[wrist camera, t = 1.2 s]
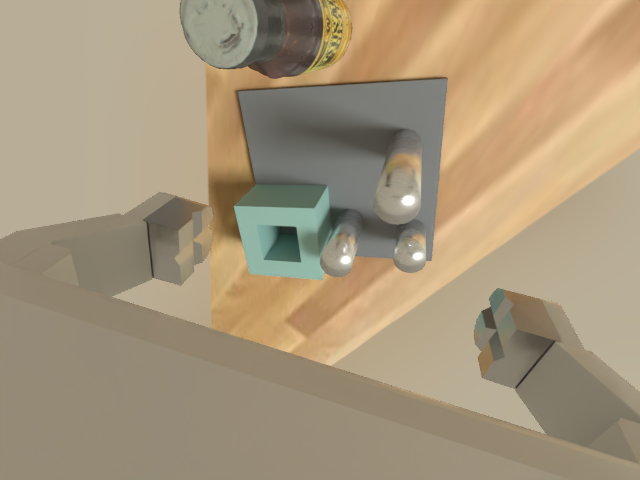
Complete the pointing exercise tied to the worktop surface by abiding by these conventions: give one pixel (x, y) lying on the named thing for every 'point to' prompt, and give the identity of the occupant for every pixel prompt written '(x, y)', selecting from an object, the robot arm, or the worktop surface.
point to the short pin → (410, 246)
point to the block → (284, 210)
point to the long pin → (400, 179)
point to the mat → (347, 145)
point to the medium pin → (342, 243)
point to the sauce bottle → (267, 34)
